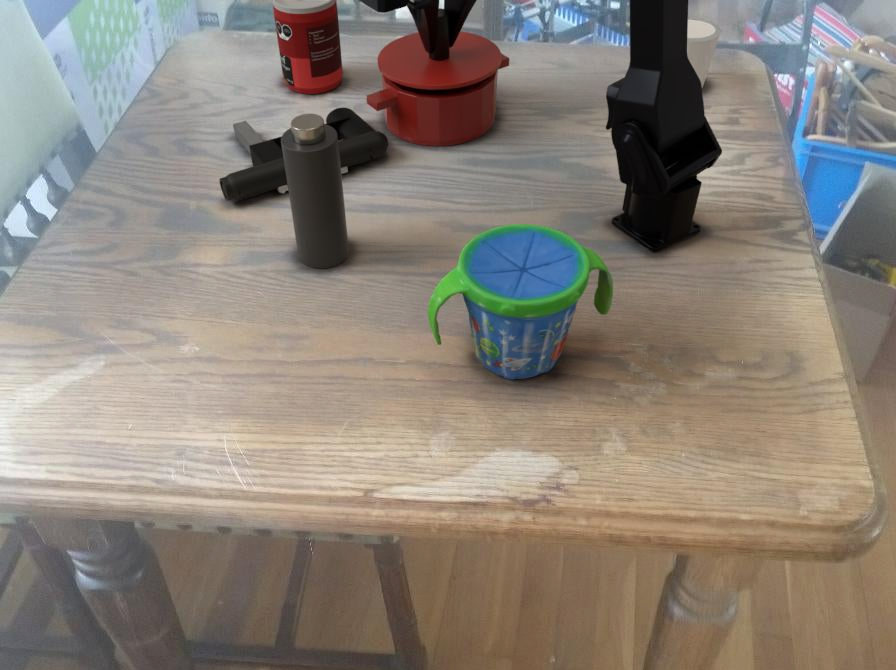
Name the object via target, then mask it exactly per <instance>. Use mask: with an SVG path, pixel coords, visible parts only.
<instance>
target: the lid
mask: <svg viewBox="0 0 896 670" xmlns="http://www.w3.org/2000/svg"><path fill="white" fill-rule="evenodd" d="M501 53H502V52H501V49H500V48H499V46H498V45H497V44H495V43H494V41H492V40H490V39H488V38H487V37H484V36H481V35H479V34H476V33H474V32H473V33H472V32H468V31H462V30H461V31H460V33H459V35H458V37H457V39H456V41H455V43H454V45H453V47H450V12H449V11H448V10H446V9H444V8H441V7H439V11H438V21H437V31H436V41H435V47H434V51H433V53H432V54H429V53H427V52H426V51H425V48H424V46H423V43H422V40H421V38H420V35H419V32H418V31H417V32H414V33H410V34H407V35H404V36H400V37H398V38H396V39H393V40H392V41H391V42H389V43H387V44H386V45H385V46H384V47H382V49H381V50H380V52H379V53H378V55H377V68H378V69H379V72H380V73H381V75H382V74H383V75H384V76H385V77H386V78H388V79H390V80H391V81H393V82H395V83H398V84H401V85H404V86H408V87H412V88H418V89H430V90H441V89H453V88H459V87H464V86H468V85H472V84H475V83H477V82H480V81H482V80H484V79H486V78H488V77H489V76H491V75H492V74H493V73H495V72H496V71H497V69H498V68H499V66H500V64H501ZM498 70H499V69H498Z"/></svg>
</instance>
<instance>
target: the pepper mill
mask: <svg viewBox="0 0 896 670" xmlns="http://www.w3.org/2000/svg"><path fill="white" fill-rule="evenodd" d="M325 124H326V123H325V119H324V118H323V117H322V116H321V115H319V114H316V113H303V114H299V115H297V116H295V117H294V118H292V120H291V121H290V127H289V128H288V129H287V130H286V131H285V132H283V134H282V135H281V136H282V137H281V136H280V137H281V145H282V151H283V158H284V165H285V171H286V178H287V185H288V191H287V192H288V198H289V205H290V210H291V211H290V212H291V217H292V223H293V231H294V237H295V244H296V250H297V257H298V259H299V261H300V262H301V263H302V264H303V265H305V266H307V267H309V268H313V269H329V268H334V267H336V266H338V265H340V264H342V263H343V262H344V261H345V260H346V259H347V258H348V256H349V254H350V248H349V238H348V237H349V236H348V225H347V218H346V217H347V216H346V208H345V197H344V187H343V176H342V175H343V174H341V165H340V155H339V145H338V141H339V140H338V135H337V132H336V130H335V129H334V128H332V127H331V126H328V125H325Z"/></svg>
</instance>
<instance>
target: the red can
mask: <svg viewBox="0 0 896 670" xmlns="http://www.w3.org/2000/svg"><path fill="white" fill-rule="evenodd" d="M337 3H338V2H337V0H272V9H273V17H274V23H275V24H274V25H275V31H276V38H277V45H278V52H279V58H280V59H279V60H280V66H281V70H282V79H283V81H284V83H285V85H286V87H287V88H288V89H289V90H290V91H293V92H295V93H297V94H303V95H319V94H324V93H327V92H330V91H332V90H335V89H336V88H337V87H339V85H340V84H342V80H343V75H344V71H343V60H342V48H341V47H342V46H341V36H340V26H339V25H340V24H339V23H340V22H339V12H338V4H337Z"/></svg>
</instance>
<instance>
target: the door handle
mask: <svg viewBox="0 0 896 670" xmlns="http://www.w3.org/2000/svg"><path fill="white" fill-rule="evenodd" d="M324 124H325V125H328V126H331V127H332V128H334V129H335V130H336V132H337V135H338V145H339V155H340V165H341V175H343V174H346V173H348V172H349V170H348V168H349V167H352V166H353V167H354V166H356V165H361V164H363V163H366V162H369V161H373V160H374V161H375V160H376V159H379V158H382V157H384V156H385V154H386V153H388V150H389V145H390V144H389V143H390V142H389V140H388V137H387V136H386V134H384V133H383V132H381V131H378V130H376V129H375V128H374V127H372V126H371V125H370V124H368V122H366V121H365V120H364V119H363V118H362V117H361V116H359V115H358V114H357V113H356V112H355V111H354V110H353V109H351V108H349V107H337V108H335V109H332V110H331V111H330V112H329V113H328V114H327V115H326V118H325V123H324ZM232 127H233V132H234V136H235V139H237V140H238V142H239V143H240V144H241V145H242V146H243V147H244V149H245V150H246V152H247V153H248V154H249V155H250V157H251V161H252V166H250V167H247V168H244V169H241V170H236V171H234V172H230V173H228V174H227V175H226V176H223V177H220V178H219V187H220V189H221V193H222V195H223V198H224V199H225V201H226V202H230V201H241V200H245V199H248V198H251V197H254V196H259V195H261V194H264V193H268V192H271V191H274V190H276V191H278V193H279V194H283V195H284V194H285V193H286V192H289V191H288V185H287V178H286V171H285V165H284V158H283V151H282V145H281V137H282V135H281V136H278V137H275V138H271V139H268V140H264V139H263V138H262V137H261V136H260V135H259V134H258V133H257V132H256V130H255V129H254V128H253V127H252V126H251V125H250V124H249V122H247V121H246V120H243V121H239V122H236V123H232Z"/></svg>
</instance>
